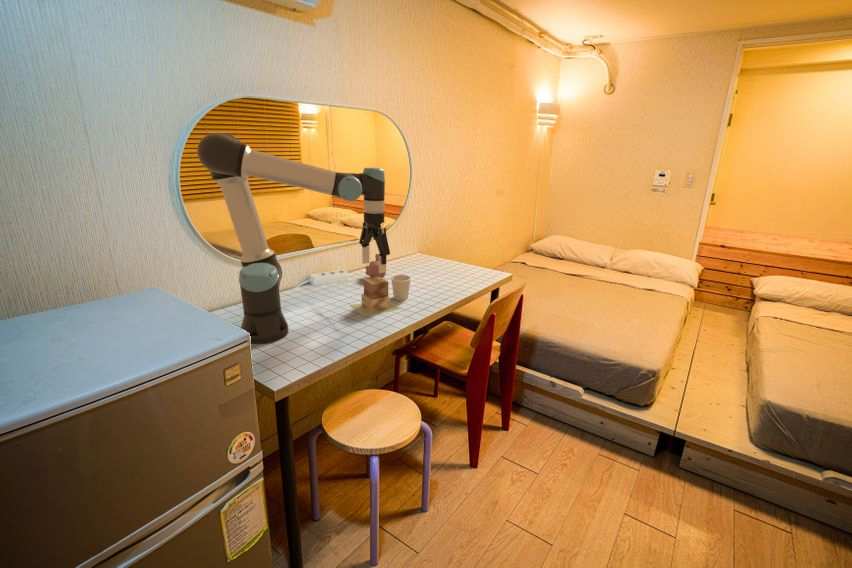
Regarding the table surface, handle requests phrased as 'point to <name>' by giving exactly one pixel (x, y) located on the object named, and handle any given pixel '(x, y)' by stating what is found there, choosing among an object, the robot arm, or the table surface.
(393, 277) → the dixie cup
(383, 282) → the walnut block
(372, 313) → the build plate
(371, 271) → the figurine
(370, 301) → the oak block
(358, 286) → the table surface
